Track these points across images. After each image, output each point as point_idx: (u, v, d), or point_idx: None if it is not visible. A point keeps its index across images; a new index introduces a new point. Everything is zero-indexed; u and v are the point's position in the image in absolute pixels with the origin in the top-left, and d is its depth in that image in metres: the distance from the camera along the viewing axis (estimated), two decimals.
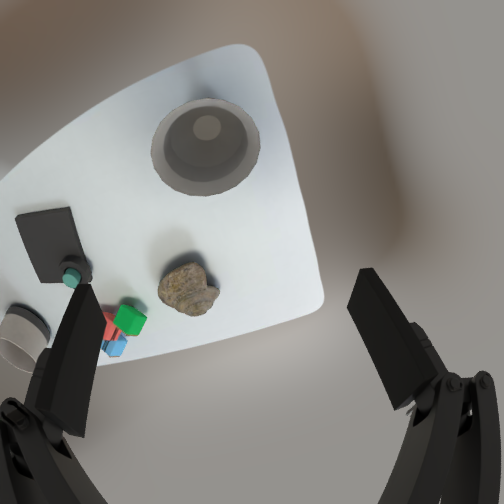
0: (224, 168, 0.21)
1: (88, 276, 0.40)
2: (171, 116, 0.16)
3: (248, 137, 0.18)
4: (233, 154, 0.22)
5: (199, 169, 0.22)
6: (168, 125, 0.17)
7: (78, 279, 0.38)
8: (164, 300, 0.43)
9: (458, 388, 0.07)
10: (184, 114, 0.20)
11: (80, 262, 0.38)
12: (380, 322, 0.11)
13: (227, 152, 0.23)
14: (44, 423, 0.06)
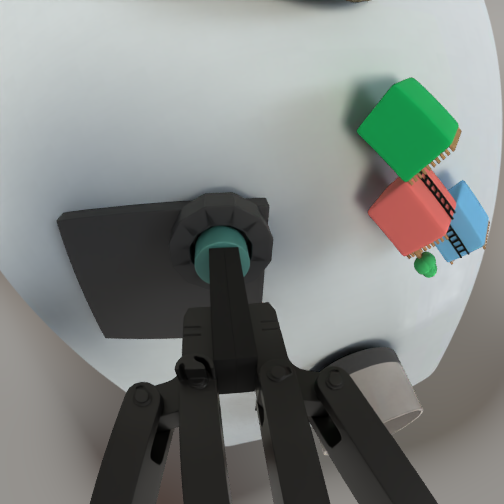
0: None
1: (228, 203, 0.14)
2: None
3: None
4: None
5: None
6: None
7: (223, 236, 0.14)
8: None
9: (286, 375, 0.08)
10: None
11: (182, 215, 0.15)
12: None
13: None
14: (216, 378, 0.09)
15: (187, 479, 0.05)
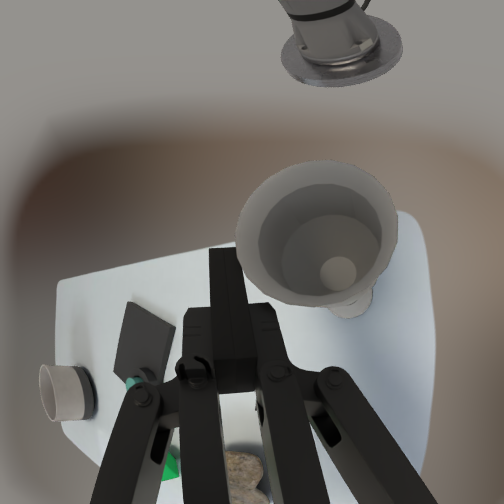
0: None
1: None
2: (284, 178, 0.13)
3: (383, 236, 0.11)
4: (359, 296, 0.14)
5: None
6: (278, 195, 0.14)
7: None
8: None
9: (286, 375, 0.08)
10: (312, 228, 0.17)
11: (152, 381, 0.35)
12: None
13: None
14: (216, 378, 0.09)
15: (187, 479, 0.05)
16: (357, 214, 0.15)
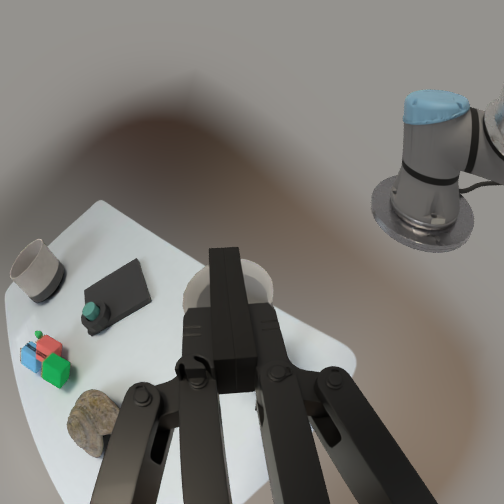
0: None
1: (93, 327, 0.41)
2: None
3: None
4: None
5: None
6: None
7: (90, 316, 0.41)
8: (79, 398, 0.30)
9: (286, 375, 0.08)
10: None
11: (105, 318, 0.42)
12: None
13: None
14: (216, 378, 0.09)
15: (187, 479, 0.05)
16: None
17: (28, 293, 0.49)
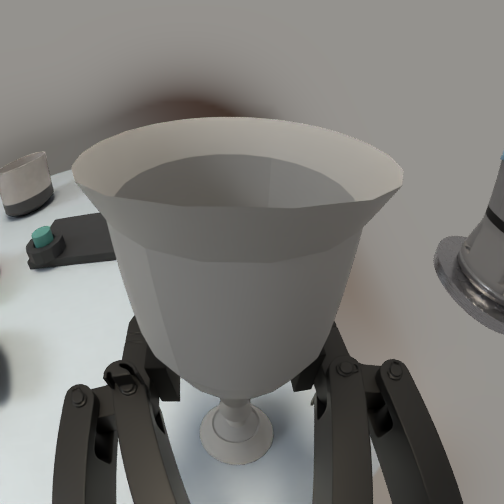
0: None
1: (34, 255, 0.27)
2: (295, 134, 0.08)
3: None
4: None
5: None
6: (270, 149, 0.08)
7: (37, 241, 0.27)
8: None
9: (353, 371, 0.08)
10: None
11: (52, 252, 0.28)
12: None
13: None
14: (150, 386, 0.08)
15: (133, 484, 0.05)
16: None
17: (3, 199, 0.37)
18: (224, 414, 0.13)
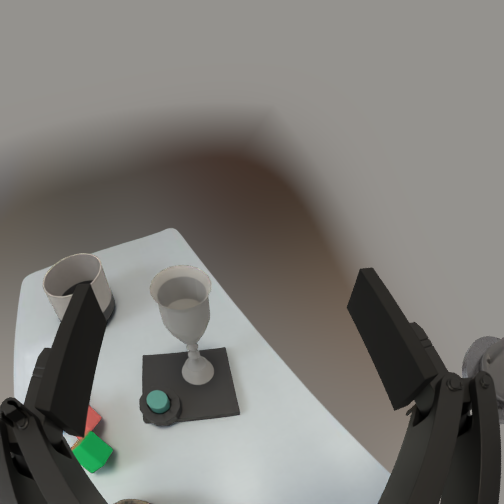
0: None
1: (157, 422, 0.30)
2: (199, 273, 0.32)
3: (187, 311, 0.28)
4: None
5: None
6: (194, 276, 0.32)
7: (157, 410, 0.31)
8: None
9: (458, 388, 0.07)
10: None
11: (176, 417, 0.32)
12: (380, 322, 0.11)
13: (172, 332, 0.31)
14: (44, 423, 0.06)
15: None
16: (207, 315, 0.31)
17: (60, 317, 0.41)
18: (189, 356, 0.36)
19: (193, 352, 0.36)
